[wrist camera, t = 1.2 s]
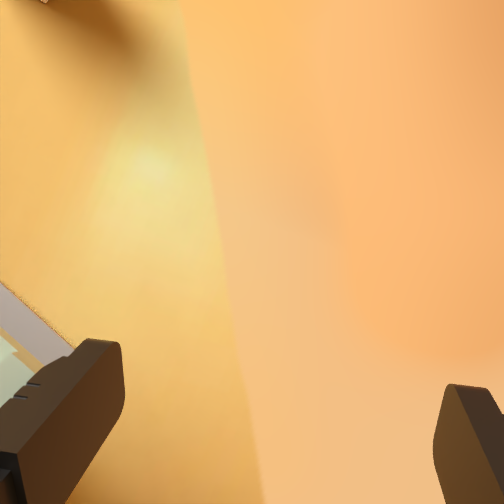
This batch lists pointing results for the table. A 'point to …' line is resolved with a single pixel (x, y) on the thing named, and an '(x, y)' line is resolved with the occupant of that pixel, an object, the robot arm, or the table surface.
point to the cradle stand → (24, 344)
